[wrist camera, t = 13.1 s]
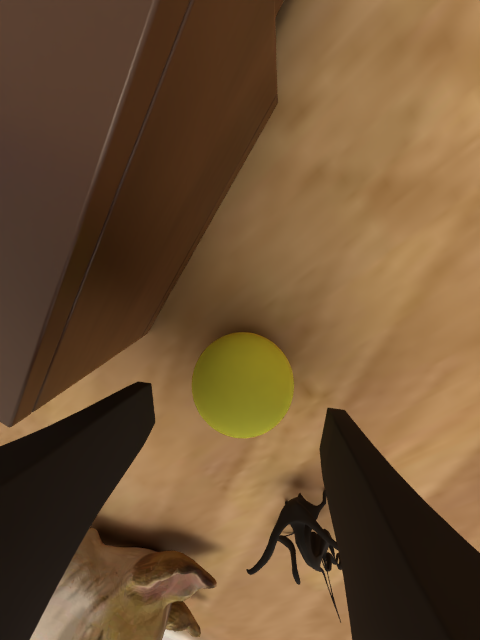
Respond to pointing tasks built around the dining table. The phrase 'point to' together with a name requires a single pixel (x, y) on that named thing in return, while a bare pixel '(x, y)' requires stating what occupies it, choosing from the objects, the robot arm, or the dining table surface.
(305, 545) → the creature
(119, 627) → the ceramic sculpture
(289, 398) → the ball
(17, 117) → the cabinet
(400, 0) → the dining table surface
